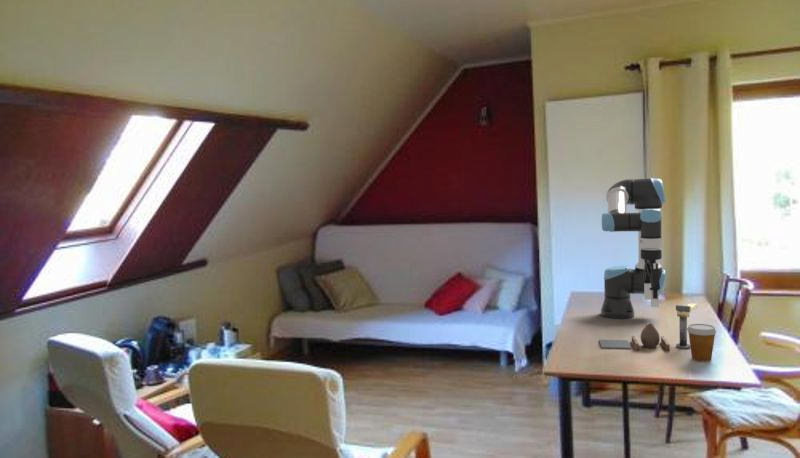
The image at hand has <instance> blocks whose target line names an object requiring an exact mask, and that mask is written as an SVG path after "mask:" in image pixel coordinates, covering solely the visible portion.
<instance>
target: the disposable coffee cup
mask: <svg viewBox="0 0 800 458" xmlns="http://www.w3.org/2000/svg"><path fill="white" fill-rule="evenodd" d="M687 333H688V339H689V345H690V352H691V353H690V354H691V359H692V360H694V361H697V362H702V361H703V362H706V361H707V362H710V360H711V361H712V357H713V351H714V350H713V349H714V344H715V335H716V333H717V330H716V327H715V326H714V325H712V324H709V323H708V324H707V323H691V324H690V323H689V324H688V325H687Z"/></svg>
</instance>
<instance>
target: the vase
mask: <svg viewBox="0 0 800 458" xmlns="http://www.w3.org/2000/svg"><path fill="white" fill-rule="evenodd" d="M640 341H641V343H642V345H643V346H644V347H645V348H648V349H654V348H656V347H658V345H659V343H660V342H661V336H660V333H659V331H658V330H657V329H656V327H655V325H654V324H652V323H646V326H645V327H643V329H642V330H641V333H640Z"/></svg>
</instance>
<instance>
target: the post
mask: <svg viewBox="0 0 800 458" xmlns="http://www.w3.org/2000/svg"><path fill="white" fill-rule="evenodd" d="M687 328H688V317H679V343H676V344H675V348H677V349H681V350H689V349H691V347H690V343H689V344H688V330H687Z"/></svg>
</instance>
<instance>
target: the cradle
mask: <svg viewBox="0 0 800 458" xmlns="http://www.w3.org/2000/svg"><path fill="white" fill-rule="evenodd" d="M631 343H632V345H633V347H634V349H635V351H640V344H639V342H638V340H637V338H636V337H635V335H632V336H631ZM660 343H661V345H662V346H663V348H664V349H665V351H666V352H670V351H671V347H670V343H669V342H668V341H667V339H666V338H665V336H660Z"/></svg>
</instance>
